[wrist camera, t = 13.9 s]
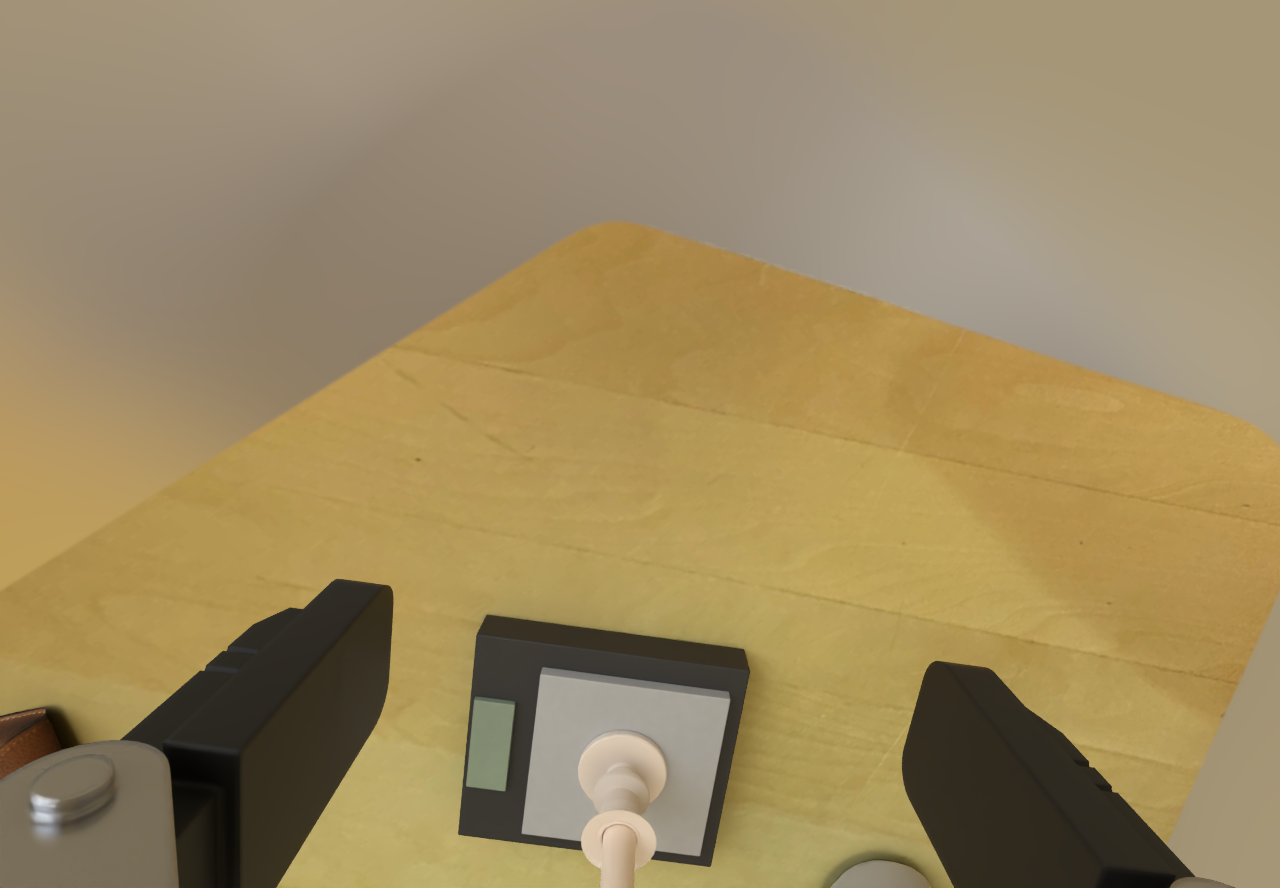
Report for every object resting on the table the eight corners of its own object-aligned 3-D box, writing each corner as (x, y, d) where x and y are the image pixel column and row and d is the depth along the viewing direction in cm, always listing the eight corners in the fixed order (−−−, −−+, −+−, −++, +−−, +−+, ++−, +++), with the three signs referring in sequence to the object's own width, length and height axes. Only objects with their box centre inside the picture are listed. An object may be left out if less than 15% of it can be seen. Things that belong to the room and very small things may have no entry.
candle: (680, 746, 38) (692, 910, 28) (647, 816, 40) (647, 997, 29) (597, 717, 38) (578, 872, 28) (566, 788, 39) (537, 962, 29)
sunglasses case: (-70, 733, 42) (-124, 791, 36) (66, 682, 45) (36, 726, 39) (51, 952, 46) (20, 1035, 40) (168, 891, 49) (155, 959, 43)
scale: (468, 806, 43) (454, 846, 40) (486, 614, 40) (472, 641, 37) (707, 836, 44) (712, 878, 41) (744, 648, 40) (752, 678, 37)
